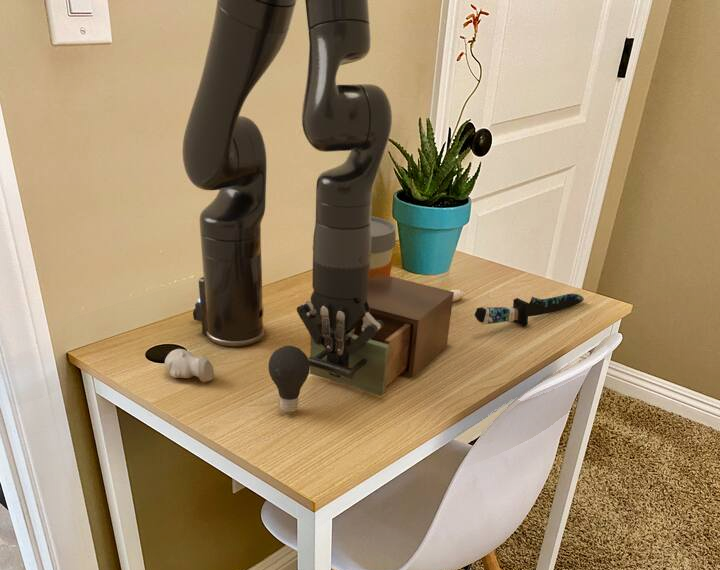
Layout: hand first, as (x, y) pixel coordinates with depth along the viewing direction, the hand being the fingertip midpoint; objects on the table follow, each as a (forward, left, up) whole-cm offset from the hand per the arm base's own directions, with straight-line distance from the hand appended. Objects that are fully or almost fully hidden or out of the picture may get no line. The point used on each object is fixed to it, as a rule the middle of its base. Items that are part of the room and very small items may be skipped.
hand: (337, 374), depth 108 cm
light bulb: (-4, -7, -4) cm, 9 cm away
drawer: (0, +6, -3) cm, 7 cm away
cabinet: (0, +19, -4) cm, 19 cm away
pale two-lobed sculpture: (-22, -7, -4) cm, 23 cm away
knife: (+15, +45, -4) cm, 48 cm away
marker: (-3, +39, -4) cm, 39 cm away
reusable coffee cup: (-14, +31, -4) cm, 34 cm away
